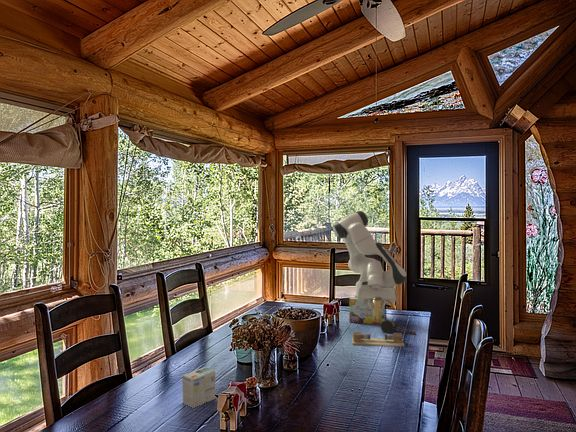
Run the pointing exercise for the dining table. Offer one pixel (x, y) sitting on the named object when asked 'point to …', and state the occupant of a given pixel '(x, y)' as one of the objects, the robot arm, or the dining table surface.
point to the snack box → (362, 312)
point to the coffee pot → (392, 327)
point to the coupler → (377, 309)
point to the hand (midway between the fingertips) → (377, 308)
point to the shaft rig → (377, 340)
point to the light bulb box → (198, 387)
